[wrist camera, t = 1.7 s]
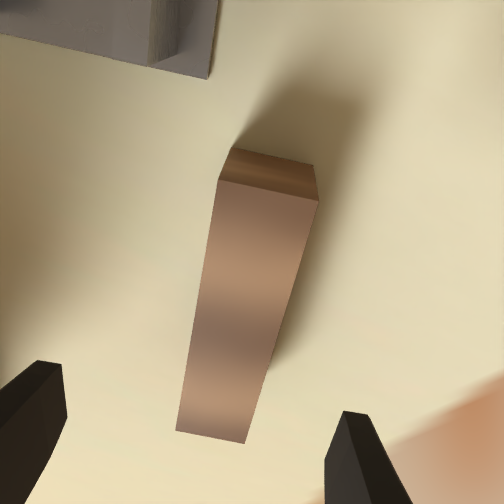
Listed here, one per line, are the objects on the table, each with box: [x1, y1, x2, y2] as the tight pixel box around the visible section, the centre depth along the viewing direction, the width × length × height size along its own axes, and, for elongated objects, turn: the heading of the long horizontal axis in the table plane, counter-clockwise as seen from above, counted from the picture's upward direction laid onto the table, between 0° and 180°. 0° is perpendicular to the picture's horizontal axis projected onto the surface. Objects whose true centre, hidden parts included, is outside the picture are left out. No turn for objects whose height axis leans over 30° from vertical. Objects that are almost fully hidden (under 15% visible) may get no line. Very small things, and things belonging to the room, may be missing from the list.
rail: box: [175, 147, 319, 444], centre depth 19 cm, size 13×3×4 cm, turn 169°
